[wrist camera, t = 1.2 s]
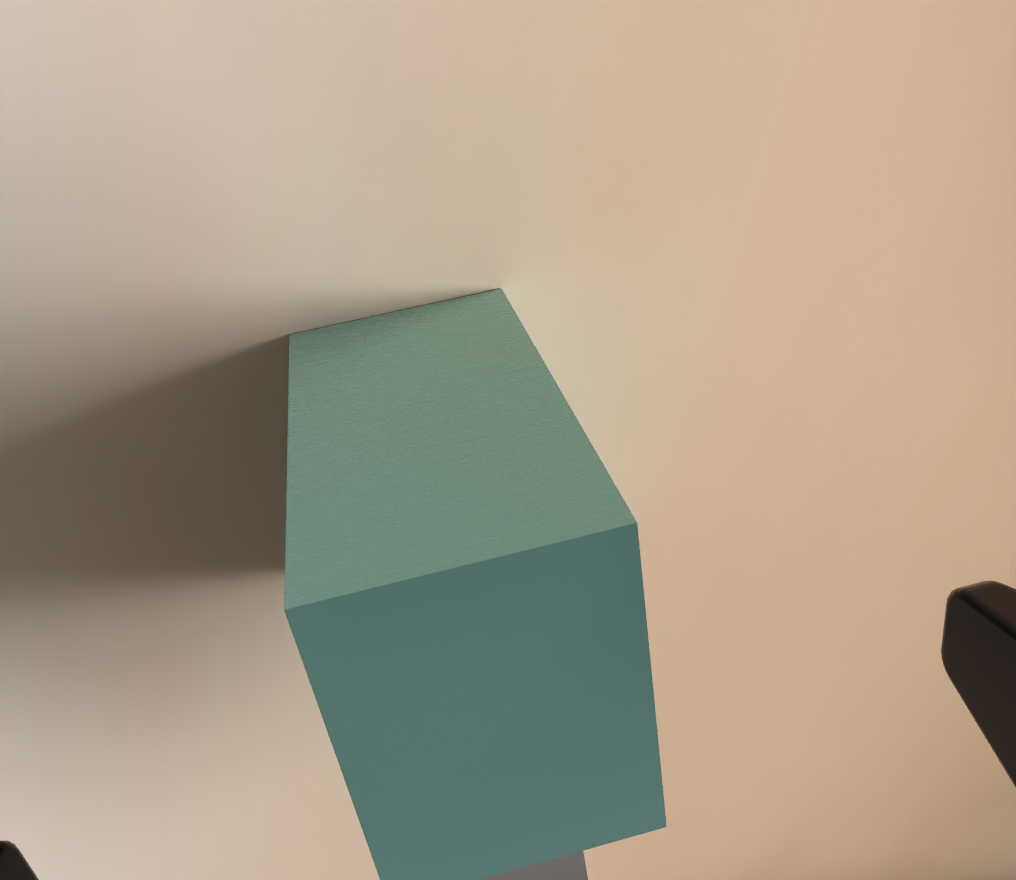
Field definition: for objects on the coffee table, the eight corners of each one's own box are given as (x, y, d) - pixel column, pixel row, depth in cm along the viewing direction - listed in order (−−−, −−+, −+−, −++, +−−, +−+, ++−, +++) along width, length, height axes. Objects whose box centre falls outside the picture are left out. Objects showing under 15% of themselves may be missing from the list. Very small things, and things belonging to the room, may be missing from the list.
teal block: (570, 273, 13) (748, 494, 8) (651, 946, 21) (765, 1269, 16) (216, 350, 13) (159, 640, 7) (440, 1008, 21) (487, 1361, 16)
